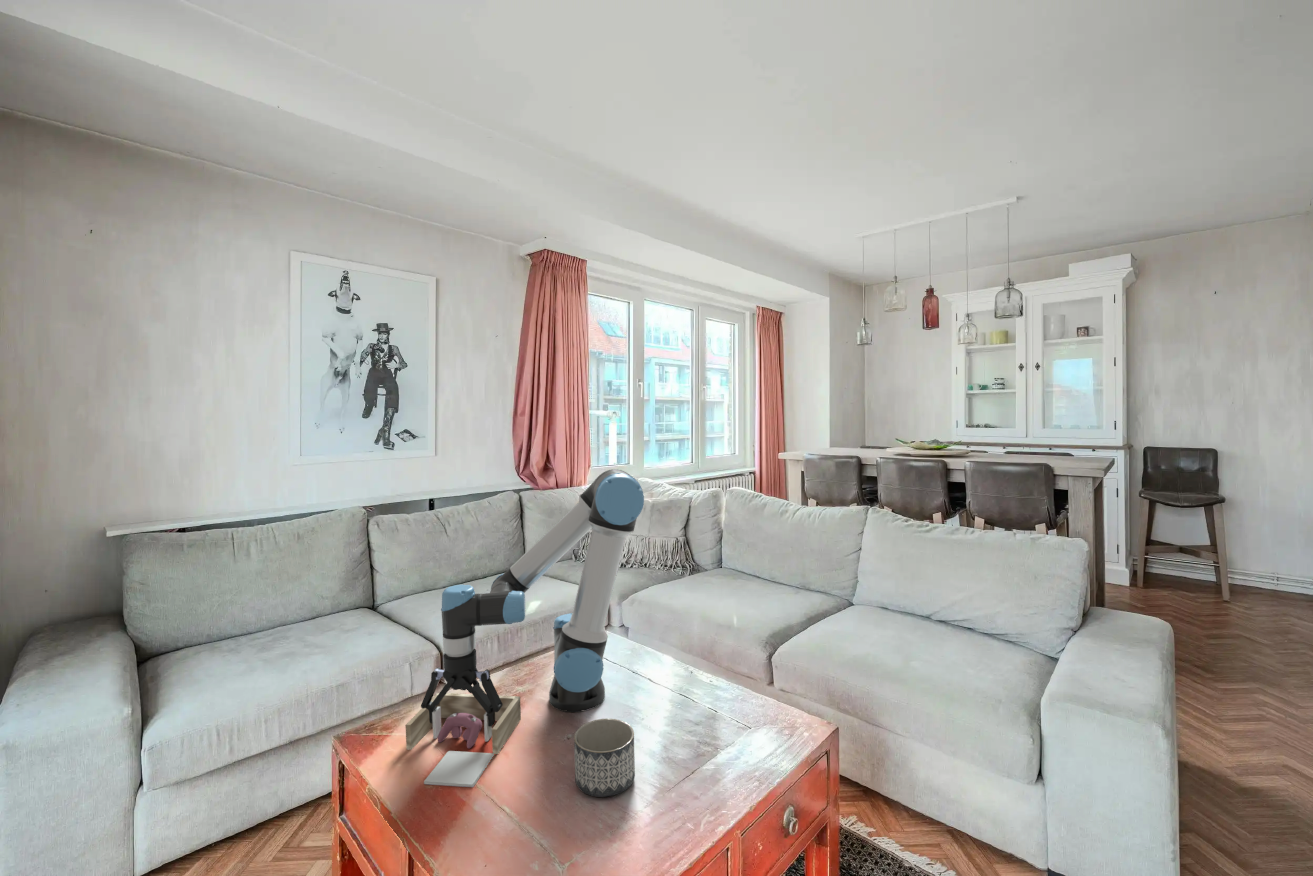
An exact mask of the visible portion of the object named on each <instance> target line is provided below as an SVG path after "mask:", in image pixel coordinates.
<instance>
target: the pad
mask: <svg viewBox="0 0 1313 876" xmlns="http://www.w3.org/2000/svg"><path fill="white" fill-rule="evenodd" d="M493 756H494V757H495V755H494V753H493V752H478V751H474V752H473V751H459V750H458V751H457V750H456V751H455V750H448V751H447V752H446V753H445V754H444V756H443V757H442V758H441V759H440V761H439V762H438V763H437V764H436V766H435V767H434V768H433V769H432V771H431V772H430V773H429V774H428V775H427V777H426V778H425V779H424V780H423V784H424V785H433V786H446V787H447V786H448V787H461V788H462V787H463V788H465V787H467V788H474V787H475V786H476V784H477V782H478V781H479V779H480V778H481V776H482V775H483V773H484V772H483V771H486V769H487V767H488V766H489V764H490V763H489V762H491V761H492V760H491V759H493V758H494V757H493ZM492 757H493V758H492ZM490 760H491V761H490ZM488 763H489V764H488ZM487 765H488V766H487ZM485 768H486V769H485Z"/></svg>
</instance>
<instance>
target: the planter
mask: <svg viewBox="0 0 1313 876" xmlns="http://www.w3.org/2000/svg"><path fill="white" fill-rule="evenodd" d="M573 743H574V744H573V745H574V781H575V783H576V787H577V788H578V789H579V790H580V791H581V792H582V793H584V794H586V795H589V796H591V797H599V798H605V797H606V798H607V797H612V796H616V795H619V794H621V793H623V792H625V791H626V790H627V789H629V788H630V787H631V786H632V784H633V783H634V781H635V777H636V770H635V769H636V767H635V766H636V765H635V763H636V762H635V759H636V758H635V731H634V728H633V727H632V726H631V725H630V724H629V723H627V722H625V721H623V720H620V719H616V718H599V719H594V720H591V721H587V722H586V723H584V724H582V725H581V726H580V727H578V729H577V730H576V731H575V732H574V735H573Z"/></svg>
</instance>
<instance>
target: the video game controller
mask: <svg viewBox="0 0 1313 876" xmlns="http://www.w3.org/2000/svg"><path fill="white" fill-rule="evenodd" d="M462 728H466V729H464V730H463V729H462ZM482 729H483V722H482V720H480V719H478V718H476V717H475V716H474V715H471V714H468V713H455V714H452V715H450V717H448V718H445V722H444V723H443V725H442V726H441V730H440V732H439V734H438V737H437V742H438V743H442V742H444V741H445V740H446V739H447V737H448V736H449V734H450V733H451V736H452V738H453V739H459V738H461V736H462V739H463V740H464V741H466V748H467V749H471V748H472V747H473V746H475V744H476V742H477V740H478V738H479V734H480V732H481V730H482Z"/></svg>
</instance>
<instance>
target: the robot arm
mask: <svg viewBox="0 0 1313 876" xmlns="http://www.w3.org/2000/svg"><path fill="white" fill-rule="evenodd" d="M644 495H645V494H644V491H643V489H642V486H641V484H640V483H639V482H638V481H637V480H636V478H635V477H633V476H632V475H630V474H629V473H628V472H627V471H625V470H622V469H619V468H617V469H615V468H613V469H607V470H605V471H603V472H602V473H601V474H599V475H598V476H597V477H596V478H595V479H594V481H593V482H592V483H591V484H590V485H589V486H588V487H587V488H586V489H585V490H584V492H582V493H581V494H580V495H579V496H578V502H577V503H576V504H575V505H574V506H573V507H572V508H570V510H568V512H567V513H566V514H564V515H563V517H562V518H561V519H559V520H558V521H557V522H556V523H555V524H554V525H553V526H552V527H551V528H550V529H549V530H547V532H546V533H544V535H543V536H542V537H541V538H539V540H538V541H536V542H535V543H534V544H533V545H532V546H531V547H530V548H529V549H528V550H527V551H526V552H525V553H524V554H522V556H520V558H518V559H517V560H516V561H515V562H514V563H513V564H512V565H511V566H510V567H509V568H508V569H507V570H506V571H505V572H504V573H501V574H499V575H498V576H497V577H496V578H495V579H494V580H493V581H492V584H491V587H490V590H489V592H486V593H485V592H484V593H476V591H475V588H474V586H472V585H471V584H454V585H451V586H448V587H446V588H445V589H444V590H443V591H442V592H441V609H440V611H441V624H442V625H441V626H442V652H443V655H442V656H443V669H441V667H436V668H435V669H434V670H433V671H432V672H431V675H430V676H431V678H430V682H429V685H428V686H427V690H426V693H425V694H424V697H423V699H422V701H421V704H420V708H421V709H422V708H423V709H424V708H426V709H428V711H429V721H430V723H433V727H432V738H433V739H438V734H439V732H440V730H441V728H442V718H441V707H436V706H437V705H438V704H439V702H440V701H441V700H442V699H443V697H444V696H445V695H446V693H448V692H449V691H450V689H452V690H453V691H457V690H460V691H468V694H473V696H474V697H475V698H476V700H477V701H478V702H479V703H480V705H481V706H482V707H483V708H484V710H485V711H486V713H485V714H484V720H483V726H484V727H483V728H484V729H483V732H484V733H483V734H484V742H489V740H490V739H492V728H493V727H494V726H495V724H496V721H495V712H498V711H499V710H500V709H501V707H502V706H503V704H502V702H501V700H500V698H499V696H500V695H499V694H498V691H497V689H496V687H495V685H494V683H493V681H492V678H491V673H490V672H491V671H490V669H485V670H484V671H479V670H478V669H477V650H476V647H477V643H476V642H477V641H476V640H477V639H476V638H477V637H476V627H480V626H481V627H482V626H492V625H495V626H496V625H512V624H518V623H522V622H524V621H525V619H526V595H525V593H526V592H527V591H528V590H529V589H530V588H532V586H533V585H534V584H535V583H536V582H538V581H539V579H541V577H543V576H544V575H545V574H546V573H547V572H548V571H549V570H550V568H552V567H553V566H554V565H555V564H556V563H557V562H558V561H559V560H561V558H562V557H564V555H565V554H566V553H568V552H569V551H570V550H571V549H572V548H573V547H574V546H575V545H576V544H577V543H578V542H579V541H580V540H581V539H582V538H583V537H585V535H587V533H589V532H590V531H591V533H590V539H589V542H588V547H587V551H586V555H585V559H584V562H583V563H584V564H583V567H582V571H581V575H580V580H579V584H578V587H577V592H576V595H575V601H574V604H573V609H572V613H571V612H570V613H564V614H561V615H559V616H557V617H555V619H554V621H553V627H552V628H553V645H554V646H553V647H554V650H553V651H554V653H553V655H554V656H553V657H554V658H553V660H554V661H553V662H554V663H553V664H554V665H553V673H554V674H553V675H554V676H553V679H552V682H551V686H550V689H549V692H548V693H549V694H548V695H549V696H548V698H549V701H548V702H549V703H550V706H552V708H554V709H556V710H558V711H561V712H567V713H568V712H569V713H577V712H584V711H589V710H591V709H594V708H596V707H597V706H599V705H601V704H602V703H603V701H604V700H605V698H606V693H605V692H606V688H605V684H604V682H603V679H602V676H603V673H604V667H605V665H604V661H603V660H604V659H603V658H604V654H605V650H606V645H607V641H608V637H609V635H608V633H607V632H606V631H605V624H606V620H607V616H608V613H609V608H610V604H611V600H612V597H613V593H614V587H615V583H616V579H617V574H618V570H619V566H620V563H621V559H622V554H623V552H624V551H623V550H624V547H625V546H624V545H625V542H626V538H627V537H628V536H629V535H631V534H633V533H634V532H635V531H634V530H635V528H636V527H635V526H636V522H637V519H638V517H639V516H640V515H641V514H642V511H643V508H644V504H645V496H644ZM442 678H443V679H444V680H445V681H446V683H445V685H444V686H443V687H442V689H441V690H440V692H438V693H439V694H438V696H437V697H436V698H435V700H434V701H433V702H431V699H432V698H433V697H434V696H435V693H436V689H437V687H438V685H439V682H440V681H441V679H442ZM477 678H478V680H479V681H478V680H477ZM479 682H481V685H482V686H481V685H480V683H479ZM482 687H483V688H482Z"/></svg>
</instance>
